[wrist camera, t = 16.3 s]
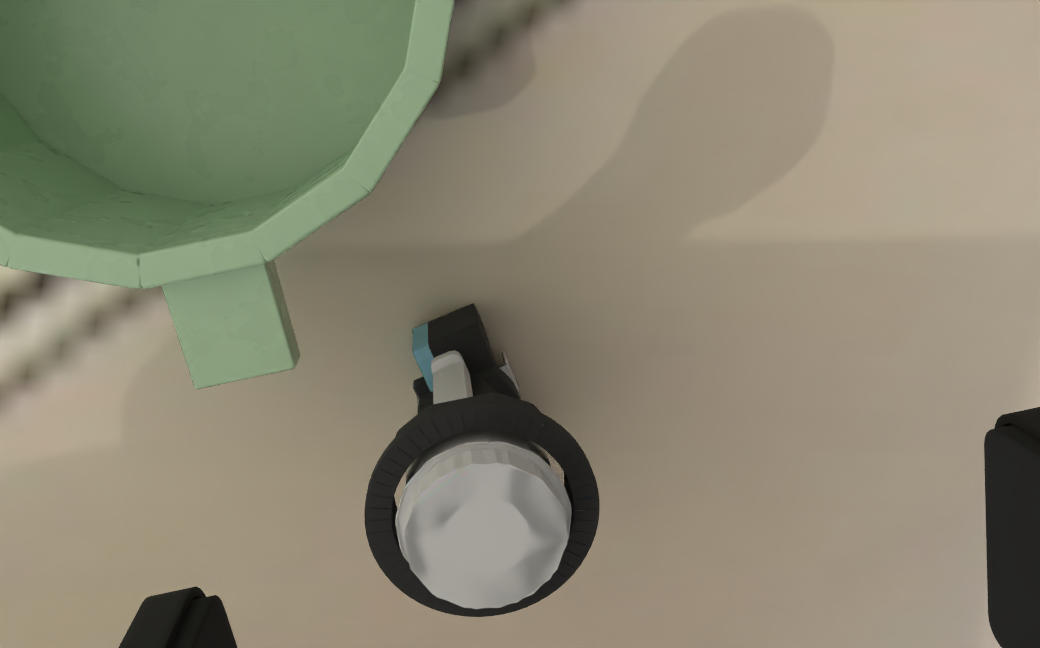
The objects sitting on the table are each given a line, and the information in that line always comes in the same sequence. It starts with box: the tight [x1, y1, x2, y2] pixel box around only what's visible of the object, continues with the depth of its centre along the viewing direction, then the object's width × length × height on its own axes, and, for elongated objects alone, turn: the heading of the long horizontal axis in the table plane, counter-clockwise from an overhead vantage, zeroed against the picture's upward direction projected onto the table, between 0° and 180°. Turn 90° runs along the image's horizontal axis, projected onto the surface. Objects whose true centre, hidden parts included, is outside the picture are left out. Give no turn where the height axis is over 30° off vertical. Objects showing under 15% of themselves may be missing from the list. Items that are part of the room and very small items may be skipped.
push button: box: [365, 304, 599, 617], centre depth 24 cm, size 7×5×10 cm
